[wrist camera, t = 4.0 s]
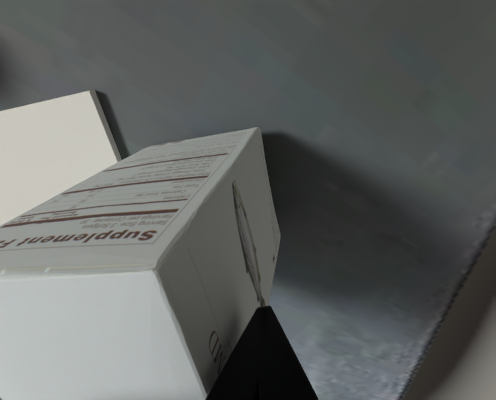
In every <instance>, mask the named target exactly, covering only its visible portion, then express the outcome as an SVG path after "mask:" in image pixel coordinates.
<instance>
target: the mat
mask: <svg viewBox="0 0 496 400" xmlns="http://www.w3.org/2000/svg"><path fill="white" fill-rule="evenodd" d="M121 160H122V158H121V156H120V153H119V151H118V148H117V146H116V143H115V141H114V138H113V135H112V133H111V130H110V128H109V125H108V123H107V120H106V118H105V115H104V112H103V110H102V107H101V105H100V102H99V100H98V97H97V95H96V92H95V90H91V91H86V92H82V93H78V94H73V95H69V96H65V97H60V98H56V99H52V100H47V101H43V102H39V103H34V104H30V105H26V106H21V107H17V108H13V109H8V110H4V111H0V226H1V225H3V224H4V223H6V222H8V221H10V220H12V219H14V218H16V217H17V216H19V215H21V214H23V213H25V212H27V211H29V210H31V209H32V208H34V207H36V206H38V205H40V204H42V203H44V202H45V201H47V200H49V199H51V198H53V197H54V196H56V195H58V194H60V193H62V192H64V191H65V190H67V189H69V188H71V187H72V186H74V185H76V184H78V183H80V182H82V181H84V180H86V179H87V178H89V177H91V176H93V175H95V174H97V173H99V172H100V171H102V170H104V169H106V168H108V167H110V166H112V165H113V164H115V163H117V162H119V161H121Z"/></svg>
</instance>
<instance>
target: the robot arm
mask: <svg viewBox="0 0 496 400" xmlns="http://www.w3.org/2000/svg"><path fill="white" fill-rule="evenodd" d="M205 400H318V397H317V395H316V393H315V391H314V389H313V388H312V386H311V384H310V382H309V380H308V378H307V376H306V374H305V372H304V370H303V368H302V366H301V364H300V362H299V360H298V358H297V356H296V354H295V352H294V350H293V348H292V347H291V345H290V343H289V341H288V339H287V337H286V335H285V333H284V331H283V329H282V327H281V325H280V323H279V321H278V319H277V317H276V315H275V313H274V311H273V309H272V307H271V306H262V307H258V308H257V309H256V310H255V312H254V314H253V316H252V317H251V319H250V321H249V323H248V324H247V326H246V328H245V330H244V331H243V333H242V335H241V337H240V339H239V340H238V342H237V344H236V346H235V347H234V349H233V351H232V353H231V354H230V356H229V358H228V360H227V362H226V363H225V365H224V367H223V369H222V370H221V372H220V374H219V376H218V377H217V379H216V381H215V383H214V385H213V386H212V388H211V390H210V392H209V393H208V395H207V397H206V399H205Z"/></svg>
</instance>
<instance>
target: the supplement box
mask: <svg viewBox="0 0 496 400" xmlns="http://www.w3.org/2000/svg"><path fill="white" fill-rule="evenodd" d="M280 238H281V234H280V230H279V226H278V222H277V218H276V214H275V209H274V204H273V200H272V194H271V189H270V183H269V178H268V172H267V166H266V161H265V155H264V148H263V141H262V134H261V129H260V127H255V128H251V129H245V130H239V131H234V132H228V133H223V134H217V135H211V136H205V137H200V138H194V139H188V140H182V141H177V142H171V143H165V144H160V145H154V146H149V147H147V148H145V149H143V150H141V151H139V152H137V153H135V154H133V155H131V156H129V157H127V158H125V159H123V160H121V161H119V162H117V163H115V164H113V165H112V166H110V167H108V168H106V169H104V170H102V171H100V172H99V173H97V174H95V175H93V176H91V177H89V178H87V179H86V180H84V181H82V182H80V183H78V184H76V185H74V186H72V187H71V188H69V189H67V190H65V191H64V192H62V193H60V194H58V195H56V196H54V197H53V198H51V199H49V200H47V201H45V202H44V203H42V204H40V205H38V206H36V207H34V208H32V209H31V210H29V211H27V212H25V213H23V214H21V215H19V216H17V217H16V218H14V219H12V220H10V221H8V222H6V223H4V224H3V225H1V226H0V397H1V399H2V400H205V399H206V397H207V395H208V393H209V392H210V390H211V388H212V386H213V385H214V383H215V381H216V379H217V377H218V376H219V374H220V372H221V370H222V369H223V367H224V365H225V363H226V362H227V360H228V358H229V356H230V354H231V353H232V351H233V349H234V347H235V346H236V344H237V342H238V340H239V339H240V337H241V335H242V333H243V331H244V330H245V328H246V326H247V324H248V323H249V321H250V319H251V317H252V316H253V314H254V312H255V310H256V309H257V308H258V307H262V306H269V300H270V295H271V289H272V283H273V277H274V272H275V266H276V261H277V256H278V250H279V244H280Z"/></svg>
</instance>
